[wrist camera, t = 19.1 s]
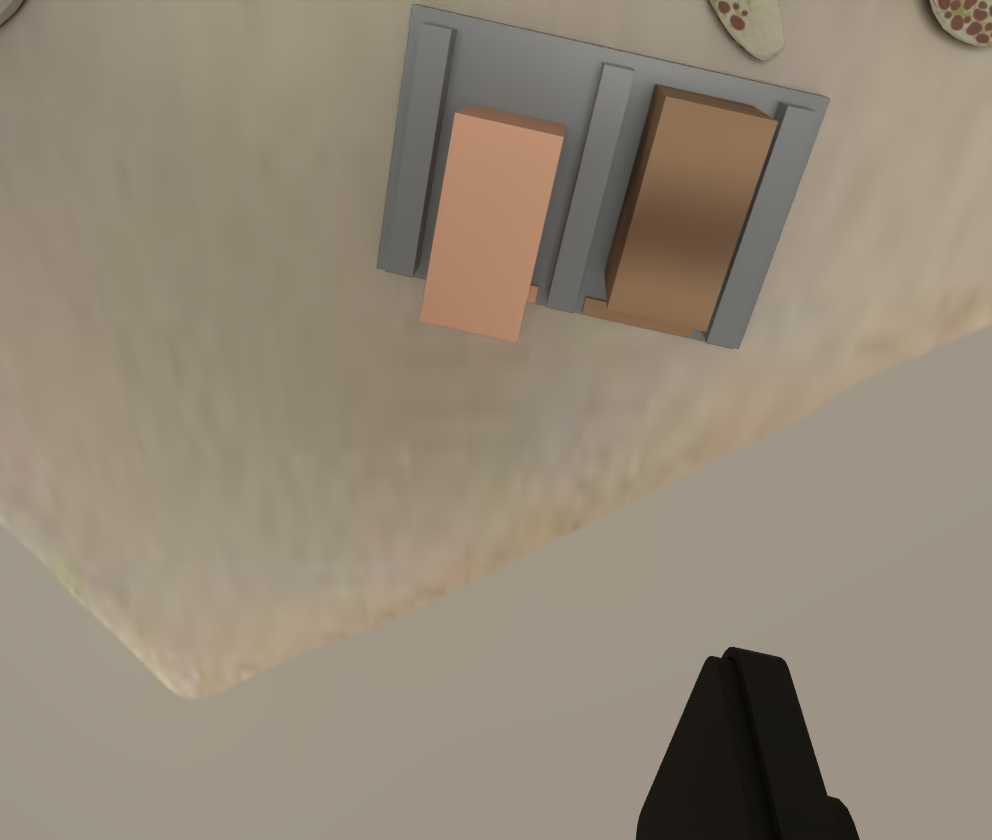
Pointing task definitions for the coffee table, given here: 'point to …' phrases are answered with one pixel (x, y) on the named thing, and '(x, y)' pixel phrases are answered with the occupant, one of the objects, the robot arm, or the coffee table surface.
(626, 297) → the walnut bar
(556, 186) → the slot rack
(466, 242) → the terracotta bar
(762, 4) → the decorative turtle
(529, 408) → the coffee table surface
